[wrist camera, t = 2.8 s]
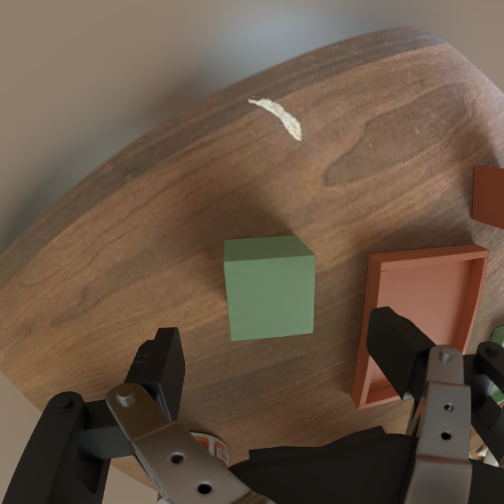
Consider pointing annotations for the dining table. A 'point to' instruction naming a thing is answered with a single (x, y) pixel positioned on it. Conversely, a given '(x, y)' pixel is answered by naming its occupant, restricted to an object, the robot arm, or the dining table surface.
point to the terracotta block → (488, 196)
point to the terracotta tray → (420, 304)
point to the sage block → (269, 287)
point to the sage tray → (500, 336)
